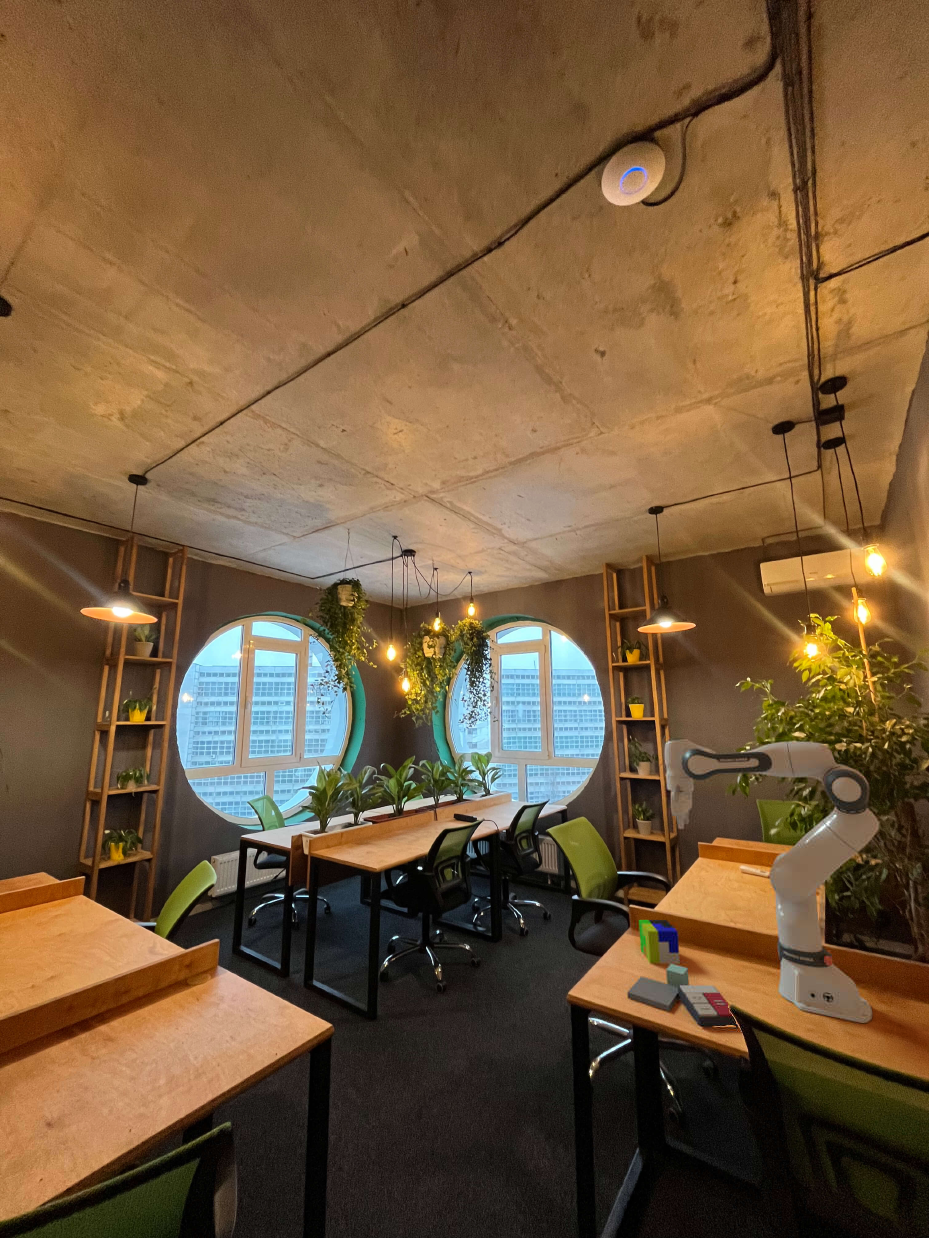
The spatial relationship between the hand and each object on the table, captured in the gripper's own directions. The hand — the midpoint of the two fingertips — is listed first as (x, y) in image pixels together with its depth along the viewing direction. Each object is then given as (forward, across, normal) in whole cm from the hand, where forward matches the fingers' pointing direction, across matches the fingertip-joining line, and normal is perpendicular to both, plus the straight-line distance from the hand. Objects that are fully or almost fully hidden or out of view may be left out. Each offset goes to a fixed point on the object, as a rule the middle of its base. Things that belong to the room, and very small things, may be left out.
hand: (683, 825), depth 177 cm
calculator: (+45, -26, -7) cm, 53 cm away
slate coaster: (+45, -25, +8) cm, 52 cm away
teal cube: (+45, -15, +3) cm, 48 cm away
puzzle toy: (+45, +3, +12) cm, 47 cm away
